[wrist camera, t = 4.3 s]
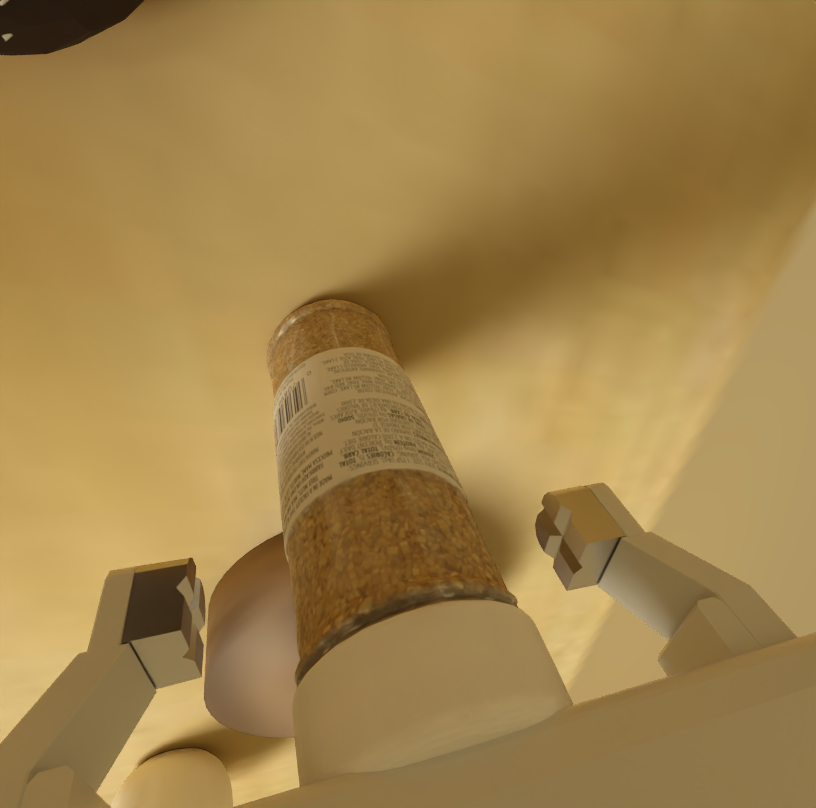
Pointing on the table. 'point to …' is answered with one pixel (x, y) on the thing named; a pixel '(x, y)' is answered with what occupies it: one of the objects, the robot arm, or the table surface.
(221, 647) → the disc
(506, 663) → the sprinkles bottle
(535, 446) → the table surface
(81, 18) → the donut
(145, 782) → the teacup
